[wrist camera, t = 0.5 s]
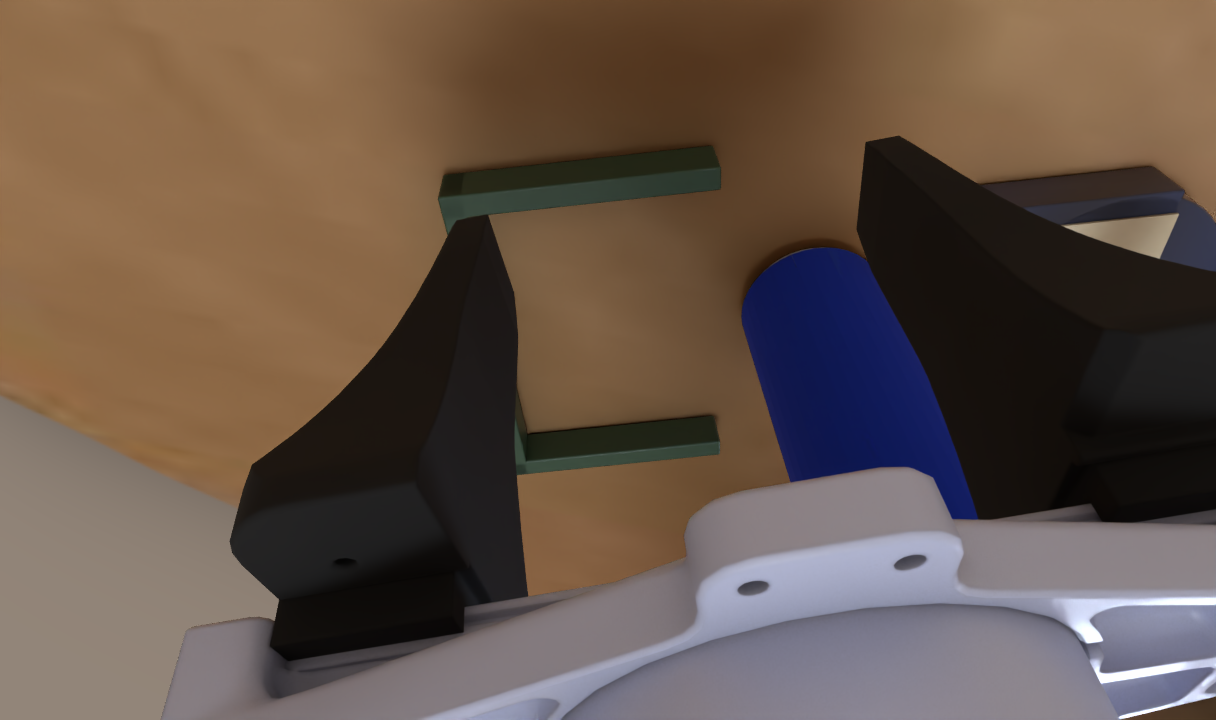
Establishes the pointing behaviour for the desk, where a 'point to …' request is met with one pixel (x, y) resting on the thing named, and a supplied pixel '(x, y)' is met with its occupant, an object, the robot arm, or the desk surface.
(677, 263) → the desk surface
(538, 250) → the desk surface
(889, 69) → the desk surface
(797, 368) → the beverage can
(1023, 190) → the blue stamp
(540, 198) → the green u-shaped bracket
